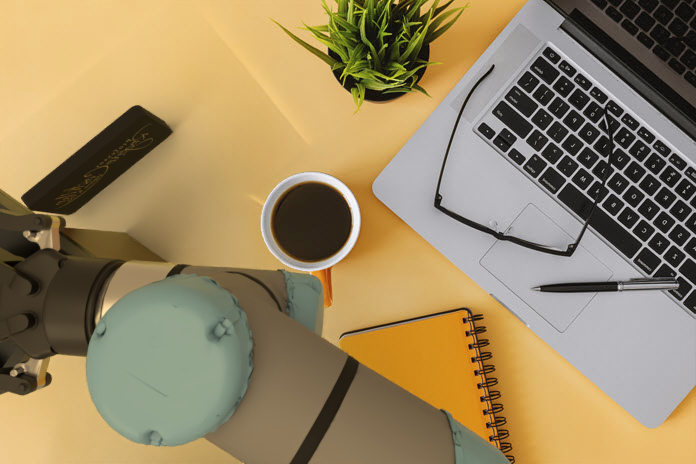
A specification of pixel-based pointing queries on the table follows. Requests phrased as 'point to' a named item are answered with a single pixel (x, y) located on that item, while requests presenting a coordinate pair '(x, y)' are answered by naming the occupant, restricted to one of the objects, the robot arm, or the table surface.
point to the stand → (111, 245)
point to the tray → (22, 247)
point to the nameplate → (98, 163)
